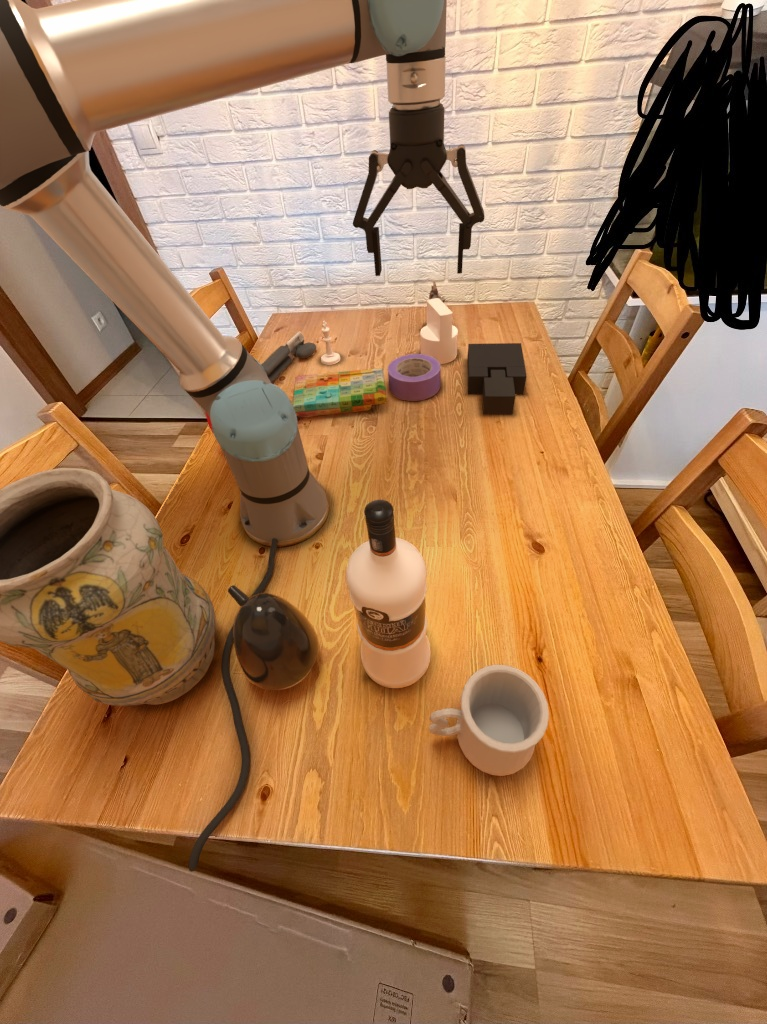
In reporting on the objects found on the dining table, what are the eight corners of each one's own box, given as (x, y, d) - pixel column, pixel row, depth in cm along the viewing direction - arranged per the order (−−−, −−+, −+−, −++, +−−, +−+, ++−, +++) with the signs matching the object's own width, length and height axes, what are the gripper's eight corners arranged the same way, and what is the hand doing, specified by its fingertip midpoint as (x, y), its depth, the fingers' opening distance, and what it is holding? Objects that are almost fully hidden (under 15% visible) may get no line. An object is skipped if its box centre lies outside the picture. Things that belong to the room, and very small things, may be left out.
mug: (523, 694, 58) (537, 660, 50) (542, 775, 52) (561, 750, 44) (425, 700, 58) (424, 667, 51) (432, 781, 52) (433, 757, 45)
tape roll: (385, 376, 109) (383, 357, 105) (433, 369, 110) (433, 350, 106) (393, 405, 101) (392, 385, 97) (445, 397, 102) (446, 377, 98)
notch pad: (523, 394, 100) (526, 376, 97) (467, 394, 102) (469, 376, 99) (518, 360, 110) (521, 343, 106) (467, 361, 111) (468, 343, 108)
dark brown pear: (287, 615, 68) (259, 553, 56) (338, 656, 63) (319, 597, 52) (232, 668, 63) (190, 612, 52) (283, 717, 58) (249, 667, 47)
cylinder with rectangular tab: (415, 350, 116) (414, 302, 107) (448, 342, 118) (450, 295, 109) (428, 367, 110) (428, 318, 101) (462, 359, 112) (465, 310, 103)
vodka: (441, 642, 63) (448, 489, 41) (411, 704, 58) (401, 566, 36) (382, 615, 67) (359, 460, 44) (349, 671, 61) (304, 527, 39)
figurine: (422, 335, 121) (421, 289, 112) (426, 323, 125) (426, 278, 116) (446, 336, 120) (447, 289, 111) (450, 324, 124) (451, 278, 115)
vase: (114, 757, 56) (-91, 647, 34) (89, 645, 67) (-80, 506, 45) (250, 674, 62) (151, 534, 40) (208, 583, 73) (110, 432, 50)
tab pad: (512, 414, 96) (515, 396, 93) (483, 414, 97) (485, 396, 93) (509, 387, 102) (511, 369, 99) (481, 387, 103) (483, 369, 100)
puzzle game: (294, 373, 104) (382, 364, 104) (298, 391, 107) (384, 382, 107) (291, 403, 96) (386, 393, 96) (296, 421, 100) (387, 412, 99)
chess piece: (318, 363, 115) (310, 325, 108) (325, 353, 118) (318, 315, 111) (336, 365, 114) (330, 326, 107) (343, 355, 117) (337, 317, 110)
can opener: (300, 345, 122) (296, 327, 118) (320, 350, 120) (317, 331, 116) (256, 383, 111) (250, 364, 107) (277, 388, 109) (271, 369, 105)
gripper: (319, 116, 61) (342, 282, 76) (514, 101, 57) (495, 278, 73) (330, 106, 66) (349, 265, 81) (510, 92, 62) (493, 260, 78)
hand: (418, 271), depth 77 cm, fingers open, 13 cm apart
